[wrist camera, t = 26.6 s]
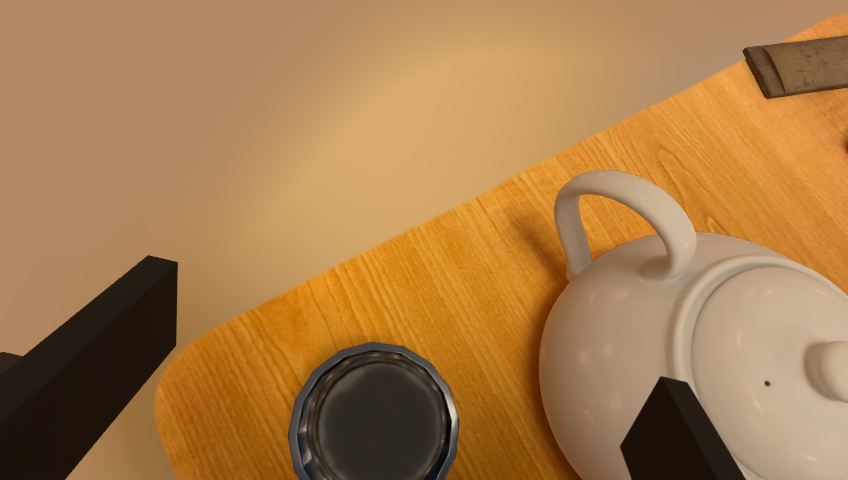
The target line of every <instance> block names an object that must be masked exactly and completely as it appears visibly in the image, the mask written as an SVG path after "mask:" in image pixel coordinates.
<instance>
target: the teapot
mask: <svg viewBox="0 0 848 480" xmlns="http://www.w3.org/2000/svg"><path fill="white" fill-rule="evenodd" d="M583 194H593V195H601V196H604V197H608V198H611V199H614V200H616V201H618V202H620V203H622V204H624V205H626V206H628V207H629V208H631V209H633V210H634V211H636V212H637V213H638V214H640V215H641V216H642V217H643V218H645V219H646V220H647V221H648V222H649V223H650V224H651V225H652V227H653V228H654V229H655V230H656V232H657V233H658V234H656V235H651V236H646V237H643V238H639V239H636V240H633V241H630V242H627V243H625V244H622V245H620V246H618V247H615V248H614V249H612V250H610V251H608V252H606V253H604V254H603V255H601V256H599V257H598V258H597V259H595V260H591V252H590V248H589V244H588V241H587V237H586V234H585V231H584V228H583V225H582V221H581V217H580V211H579V198H580V196H581V195H583ZM554 218H555V223H556V227H557V232H558V235H559V238H560V240H561V243H562V246H563V248H564V251H565V254H566V258H567V270H566V278H567V279H568V280H569V284H568V285H567V286H566V288H565V289H564V290H563V292H562V293H561V294H560V296H559V297H558V299H557V300H556V302H555V304H554V306H553V307H552V309H551V311H550V313H549V316H548V318H547V321H546V324H545V327H544V331H543V334H542V339H541V344H540V352H539V382H540V391H541V396H542V402H543V406H544V410H545V413H546V416H547V420H548V422H549V425H550V428H551V430H552V433H553V435H554V437H555V439H556V441H557V443H558V445H559V447H560V449H561V451H562V452H563V454H564V456H565V457H566V459H567V461H568V462H569V464H570V465H571V466H572V468H573V469H574V470H575V472H576V473H577V474H578V476H579V477H580V478H581V479H582V480H632V479H631V477H630V474H629V471H628V468H627V466H626V463H625V460H624V457H623V455H622V452H621V449H620V445H621V443H622V442H623V440H624V438H625V436H626V435H627V433H628V431H629V429H630V428H631V426H632V424H633V423H634V421H635V419H636V417H637V416H638V414H639V412H640V410H641V409H642V407H643V405H644V404H645V402H646V400H647V398H648V397H649V395H650V393H651V392H652V390H653V388H654V386H655V385H656V383H657V381H658V379H659V378H660V376H663V377H668V378H672V379H676V380H680V381H685V382H688V384H689V386H690V387H691V389H692V391H693V392H694V394H695V395H696V397H697V399H698V400H699V402H700V404H701V405H702V407H703V409H704V410H705V412H706V414H707V415H708V417H709V419H710V420H711V422H712V424H713V425H714V427H715V429H716V430H717V432H718V434H719V435H720V437H721V439H722V440H723V442H724V444H725V445H726V447H727V448H728V450H729V452H730V453H731V455H732V457H733V458H734V460H735V462H736V463H737V465H738V467H739V468H740V470H741V472H742V473H743V475H744V477H745V478H746V480H848V296H847V295H846V294H845V292H844V291H842V290H841V289H840V288H839V287H837V286H836V285H835V284H834V283H832V282H831V281H830V280H828V279H827V278H825V277H824V276H822V275H821V274H819V273H818V272H816V271H814V270H812V269H810V268H808V267H806V266H804V265H802V264H799V263H797V262H794V261H793V260H791V259H789V258H788V257H786V256H784V255H782V254H780V253H778V252H776V251H773V250H771V249H769V248H766V247H764V246H761V245H759V244H756V243H753V242H750V241H747V240H743V239H740V238H736V237H732V236H727V235H722V234H716V233H708V232H695V229H694V227H693V225H692V223H691V221H690V219H689V217H688V216H687V214H686V213H685V212H684V210H683V209H682V207H681V206H680V205H679V204H678V203H677V202H676V201H675V200H674V199H673V198H672V196H670V195H669V194H668V193H667V192H665V191H664V190H663V189H662V188H660V187H659V186H657V185H655V184H653V183H652V182H650V181H648V180H645V179H643V178H641V177H638V176H636V175H633V174H629V173H625V172H621V171H617V170H595V171H590V172H586V173H583V174H581V175H578V176H577V177H575V178H574V179H572V180H571V181H569V182H568V183H567V184H566V185H565V186H564V187H563V188H562V189H561V190H560V191H559V193H558V195H557V197H556V200H555V205H554Z"/></svg>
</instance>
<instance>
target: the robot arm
mask: <svg viewBox="0 0 848 480" xmlns="http://www.w3.org/2000/svg"><path fill="white" fill-rule="evenodd" d="M177 271H178V262H175V261H170V260H166V259H162V258H158V257H153V256H149V255H148V256H147V257H145V258H144V259H143V260H142V261H140V262H139V263H138V264H137V265H136V266H134V267H133V268H132V269H131V270H129V271H128V272H127V273H126V274H124V275H123V276H122V277H121V278H119V279H118V280H117V281H116V282H114V283H113V284H112V285H111V286H110V287H108V288H107V289H106V290H105V291H104V292H102V293H101V294H100V295H98V296H97V297H96V298H95V299H94V300H92V301H91V302H90V303H89V304H87V305H86V306H85V307H84V308H82V309H81V310H80V311H79V312H78V313H76V314H75V315H74V316H73V317H71V318H70V319H69V320H68V321H66V322H65V323H64V324H63V325H62V326H60V327H59V328H58V329H57V330H55V331H54V332H53V333H51V334H50V335H49V336H48V337H46V338H45V339H44V340H43V341H42V342H40V343H39V344H38V345H37V346H35V347H34V348H33V349H32V350H30V351H29V352H28V353H27V354H26V355H24V356H19V355H14V354H10V353H6V352H1V353H0V480H65V479H66V478H67V476H68V475H69V474H70V473H71V472H72V471H73V469H74V468H75V467H76V465H78V463H79V462H80V461H81V460H82V458H83V457H84V456H85V455H86V454H87V452H88V451H89V450H90V449H91V448H92V446H93V445H94V444H95V443H96V442H97V440H98V439H99V438H100V437H101V436H102V434H103V433H104V432H105V431H106V429H107V428H108V427H109V426H110V425H111V423H112V422H113V421H114V420H115V419H116V417H117V416H118V415H119V414H120V412H121V411H122V410H123V409H124V408H125V407H126V405H127V404H128V403H129V402H130V401H131V399H132V398H133V397H134V396H135V394H136V393H137V392H138V391H139V390H140V388H141V387H142V386H143V384H145V382H146V381H147V380H148V379H149V378H150V376H151V375H152V374H153V373H154V371H155V370H156V369H157V368H158V367H159V365H160V364H161V363H162V362H163V361H164V359H165V358H166V357H167V356H168V355H169V353H170V352H171V351H172V350H173V348H174V347H175V346H176V324H177V323H176V319H177ZM620 449H621V452H622V455H623V457H624V460H625V463H626V466H627V468H628V471H629V474H630V477H631V479H632V480H746V478H745V477H744V475H743V473H742V472H741V470H740V468H739V467H738V465H737V463H736V462H735V460H734V458H733V457H732V455H731V453H730V452H729V450H728V448H727V447H726V445H725V444H724V442H723V440H722V439H721V437H720V435H719V434H718V432H717V430H716V429H715V427H714V425H713V424H712V422H711V420H710V419H709V417H708V415H707V414H706V412H705V410H704V409H703V407H702V405H701V404H700V402H699V400H698V399H697V397H696V395H695V394H694V392H693V391H692V389H691V387H690V386H689V384H688V382H685V381H680V380H676V379H672V378H668V377H663V376H660V378H659V379H658V381H657V383H656V385H655V386H654V388H653V390H652V392H651V393H650V395H649V397H648V398H647V400H646V402H645V404H644V405H643V407H642V409H641V410H640V412H639V414H638V416H637V417H636V419H635V421H634V423H633V424H632V426H631V428H630V429H629V431H628V433H627V435H626V436H625V438H624V440H623V442H622V443H621V445H620Z"/></svg>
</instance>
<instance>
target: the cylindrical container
mask: <svg viewBox="0 0 848 480" xmlns="http://www.w3.org/2000/svg"><path fill="white" fill-rule="evenodd" d="M377 351H380V352H391V353H395V354H398V355H401V356H404V357H406V358H408V359H410V360H412V361H413V362H415V363H417V364H418V365H420V366H421V367H422V368H423V369H424V370H425V371H426V372H427V373H428V374H429V375H430V376H431V378H432V379H433V381H434V382H435V384H436V385H437V387H438V389H439V391H440V394H441V396H442V399H443V402H444V405H445V412H446V424H447V425H446V435H445V440H444V444H443V448H442V451H441V453H440V456H439V458H438V460H437V462H436V463H435V465H434V467H433V468H432V470H431V471H430V472H429V473H428V475H426V477H425V478H424V480H445V478H446V476H447V474H448V472H449V470H450V468H451V466H452V464H453V462H454V460H455V458H456V453H457V443H458V432H459V418H458V414H457V411H456V407H455V403H454V400H453V396H452V392H451V389H450V387H449V386H448V385H447V383H446V382H445V381H444V379H443V378H442V377H441V375H440V374H439V373H438V371H437V370H436V369H435V367H434V366H433V365H432V363H430V362H429V361H427V360H426V359H424V358H422V357H421V356H419V355H417V354H416V353H414V352H412V351H411V350H409V349H407V348H406V347H403V346H398V345H391V344H384V343H377V342H370V343H366V344H362V345H358V346H355V347H351V348H347V349H343V350H341V351H339V352H338V353H336V354H335V355H334V356H332V357H331V358H330V359H328V360H327V361H326V362H324V363H323V364H321V365H320V366H319V367H317V368H316V369H315V370H314V371H313V372H312V374H311V375H310V377H309V379H308V380H307V382H306V383H305V385H304V387H303V388H302V390H301V391H300V393H299V394H298V396H297V398H296V399H295V402H294V407H293V412H292V417H291V422H290V428H289V433H288V439H289V445H290V450H291V456H292V461H293V466H294V471H295V473H296V475H297V476H298V478H299V479H300V480H326V479H325V478H324V477H323V475H322V474H321V472H320V471H319V469H318V468H317V466H316V464H315V463H314V461H313V459H312V457H311V453H310V450H309V448H308V442H307V437H306V435H307V431H306V426H307V417H308V410H309V407H310V404H311V401H312V398H313V396H314V393H315V391H316V390H317V388H318V386H319V385H320V383H321V382H322V380H323V379H324V378H325V377H326V376H327V374H329V373H330V372H331V371H332V370H333V369H334V368H335V367H337V366H338V365H339V364H340V363H341V362H343V361H345V360H347V359H348V358H351V357H353V356H356V355H359V354H362V353H367V352H377Z"/></svg>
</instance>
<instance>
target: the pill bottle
mask: <svg viewBox="0 0 848 480" xmlns="http://www.w3.org/2000/svg"><path fill="white" fill-rule="evenodd" d="M446 425H447V424H446V412H445V405H444V402H443V399H442V396H441V394H440V391H439V389H438V387H437V385H436V384H435V382H434V381H433V379H432V378H431V376H430V375H429V374H428V373H427V372H426V371H425V370H424V369H423V368H422V367H421V366H420V365H418V364H417V363H415V362H413V361H412V360H410V359H408V358H406V357H404V356H401V355H398V354H395V353H391V352H380V351H377V352H367V353H362V354H359V355H356V356H353V357H351V358H348V359H347V360H345V361H343V362H341V363H340V364H339V365H338V366H337V367H335V368H334V369H333V370H332V371H331V372H330V373H329V374H327V376H326V377H325V378H324V379H323V380H322V382H321V383H320V385H319V386H318V388H317V390H316V391H315V393H314V396H313V398H312V401H311V404H310V407H309V410H308V417H307V426H306V431H307V435H306V437H307V442H308V448H309V450H310V453H311V457H312V459H313V461H314V463H315V464H316V466H317V468H318V469H319V471H320V472H321V474H322V475H323V477H324V478H325V479H326V480H424V478H425V477H426V475H428V473H429V472H430V471H431V470H432V468H433V467H434V465H435V463H436V462H437V460H438V458H439V456H440V453H441V451H442V448H443V444H444V440H445V435H446Z"/></svg>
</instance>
